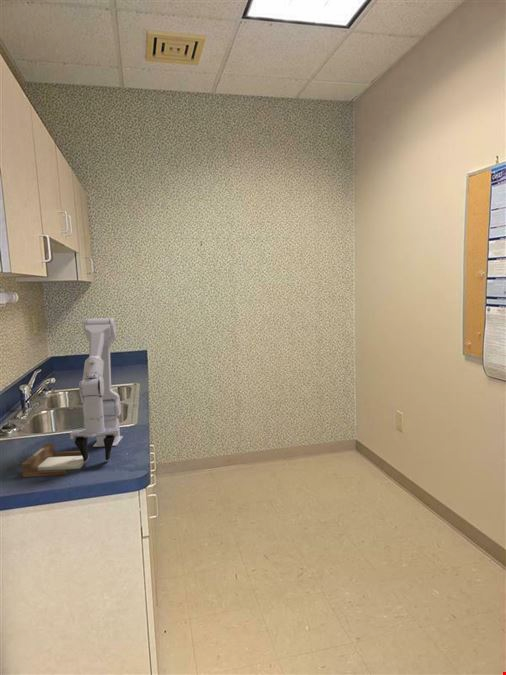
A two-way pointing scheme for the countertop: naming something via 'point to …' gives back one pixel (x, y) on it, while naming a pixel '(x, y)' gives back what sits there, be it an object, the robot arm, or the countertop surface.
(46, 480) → the countertop surface
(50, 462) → the external hard drive
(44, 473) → the dock
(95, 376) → the robot arm
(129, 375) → the countertop surface
